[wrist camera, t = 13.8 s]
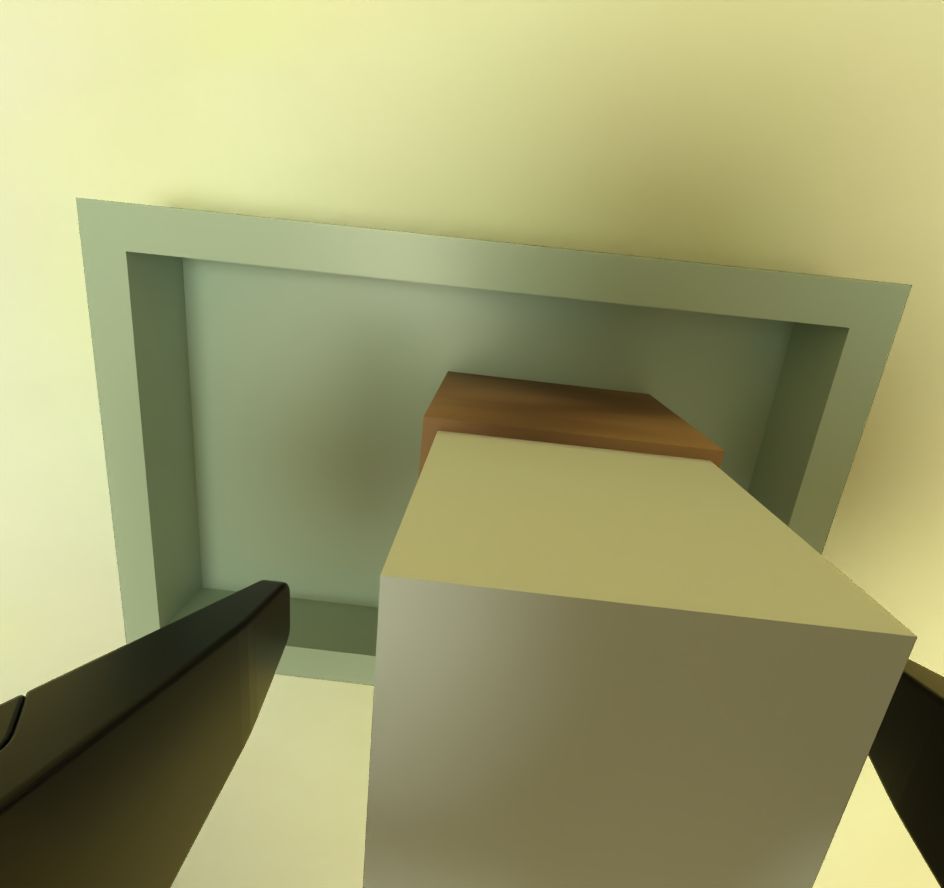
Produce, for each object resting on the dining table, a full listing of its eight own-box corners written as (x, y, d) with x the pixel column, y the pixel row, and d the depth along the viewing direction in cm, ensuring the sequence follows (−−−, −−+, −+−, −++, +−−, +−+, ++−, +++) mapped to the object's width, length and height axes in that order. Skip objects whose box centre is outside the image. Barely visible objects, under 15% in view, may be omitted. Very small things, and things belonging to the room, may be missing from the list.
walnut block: (649, 394, 14) (724, 451, 10) (611, 571, 16) (660, 696, 11) (447, 371, 14) (423, 416, 10) (431, 550, 16) (403, 664, 11)
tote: (719, 657, 18) (762, 731, 15) (187, 596, 18) (127, 656, 15) (827, 284, 14) (911, 284, 11) (160, 214, 14) (75, 197, 11)
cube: (654, 683, 11) (771, 985, 6) (418, 656, 11) (360, 933, 6) (710, 460, 10) (917, 636, 5) (438, 430, 10) (380, 575, 5)
